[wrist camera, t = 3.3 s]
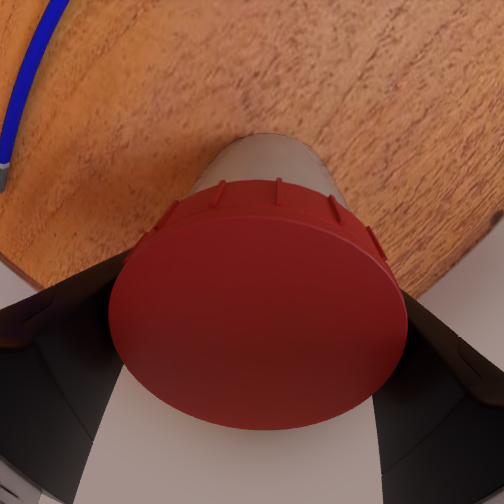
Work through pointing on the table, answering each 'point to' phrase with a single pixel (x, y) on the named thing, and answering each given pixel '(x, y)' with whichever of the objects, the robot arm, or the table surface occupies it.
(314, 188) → the jar
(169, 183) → the table surface
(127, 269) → the jar lid
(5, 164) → the pencil
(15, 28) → the table surface
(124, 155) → the table surface
